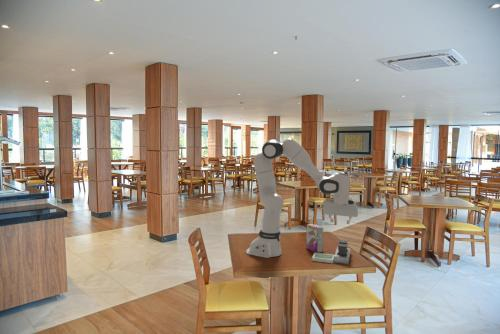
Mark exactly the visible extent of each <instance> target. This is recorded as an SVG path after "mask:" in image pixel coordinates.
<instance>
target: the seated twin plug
mask: <svg viewBox="0 0 500 334" xmlns="http://www.w3.org/2000/svg"><path fill="white" fill-rule="evenodd" d="M348 242H349V241H348V240H341V239H339V240H338V245H339V244H347V245H348ZM346 252H347V250H346Z"/></svg>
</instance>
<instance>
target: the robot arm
mask: <svg viewBox="0 0 500 334" xmlns="http://www.w3.org/2000/svg"><path fill="white" fill-rule="evenodd" d="M281 156H285V157H286V158H287V159H288V160H289V161H290V163H292V164H293V165H294V166H295V167H297V168H298V169H301V170H302V171H305V172H306V173H307V175H308V176H310V178H311V179H313V181H314V182H315V183H316V187H317V189H318V190H319V191H320V192H321V193H322V194H324V195H331V194H332V195H333V198H325V199H323V200H322V201H323V203H322V205H323V208H322V209H323V210H322V213H323V214H324V215H328V218H329V219H330V223H334V218H332V215H333V216H341V217H348V219H347V220H346V224H348V225H350V221H351V220H352V218H357V217H358V216H359V209H358V205H357V200H356V199H354V198H352V197H350V194H349V193H350V192H349V191H350V183H351V182H350V177H349V175H348V174H347V173H342V172H336V173H334V174H332V175H330V176H327V175H325V174H323V172H321V171H320V170H319V169H318V167H316V166H315V164H314V163H313V161H312V158H311V156H310V154H309V153H308V152H307V150H306V149H305V148H304V147H303V146H302V145H301V144H300V143H299V142H298V141H296V140H295V139H293V138H291V137H288V138H286V139H284V140H283V141H282V142H281V140H279V139H277V138H271V139H268V140H267V141H266V142H265V143H264V144H263V145H262V147H261V152H260V153H258V154H256V155H255V156H254V157H253V168H254V173H255V177H256V181H257V185H258V192H259V193H258V194H259V198H260V203H261V205H262V206H263V207H264V208H263V209H264V210H263V211H264V212H263V216H262V218H261V222H262V223H261V229H260V230H259V232H258V236H257V237H256V238H254V239H253V240H252V241H251V243H250V245H249V247H248V248H247V249H246V250H245V251H246V252H245V253H246V255H251V256H255V257H261V258H267V259H269V258H272V257H279V256H282V255H283V253H282V248H281V236H282V235H281V229H280V228H281V227H280V226H281V214H282V210H283V208H284V206H285V205H284V199H283V198H282V196H281V195H280V194H279V193H277V188H276V187H277V185H276V176H275V172H274V167H273V163H272V160H273V159H274V160H275V159H277V158H278V157H281Z"/></svg>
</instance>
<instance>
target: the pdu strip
mask: <svg viewBox="0 0 500 334" xmlns="http://www.w3.org/2000/svg"><path fill="white" fill-rule="evenodd" d="M334 255H335V256H334V261H333V263H338V264H345V265H349V262H350V256H351V248H350V247H347V252H346V256H342V255H339V249H338V246H337V247H336V250H335V254H334Z"/></svg>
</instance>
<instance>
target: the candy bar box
mask: <svg viewBox="0 0 500 334" xmlns="http://www.w3.org/2000/svg"><path fill="white" fill-rule="evenodd" d="M305 233H306V235H305V236H306V240H305V241H306V242H305V243H306V244H305V248H306V249H308V250H310V251H312V252H314V253H322V252H323V248H324V244H323V243H324V242H323V241H324V227H323V226H320V225H317V224H313V223H308V224H306V232H305Z"/></svg>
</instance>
